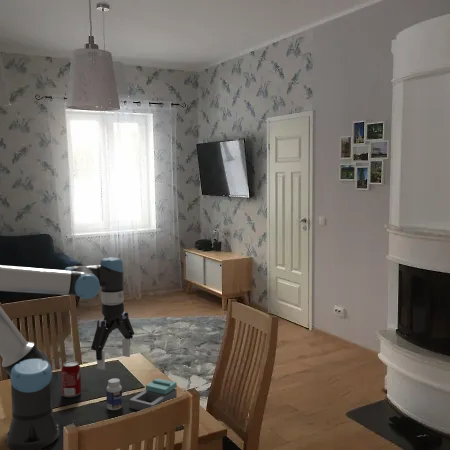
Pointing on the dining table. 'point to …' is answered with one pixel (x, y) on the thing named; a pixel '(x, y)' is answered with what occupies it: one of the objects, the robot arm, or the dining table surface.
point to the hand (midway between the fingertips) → (114, 362)
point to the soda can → (71, 379)
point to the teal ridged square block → (161, 386)
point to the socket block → (150, 399)
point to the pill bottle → (114, 394)
